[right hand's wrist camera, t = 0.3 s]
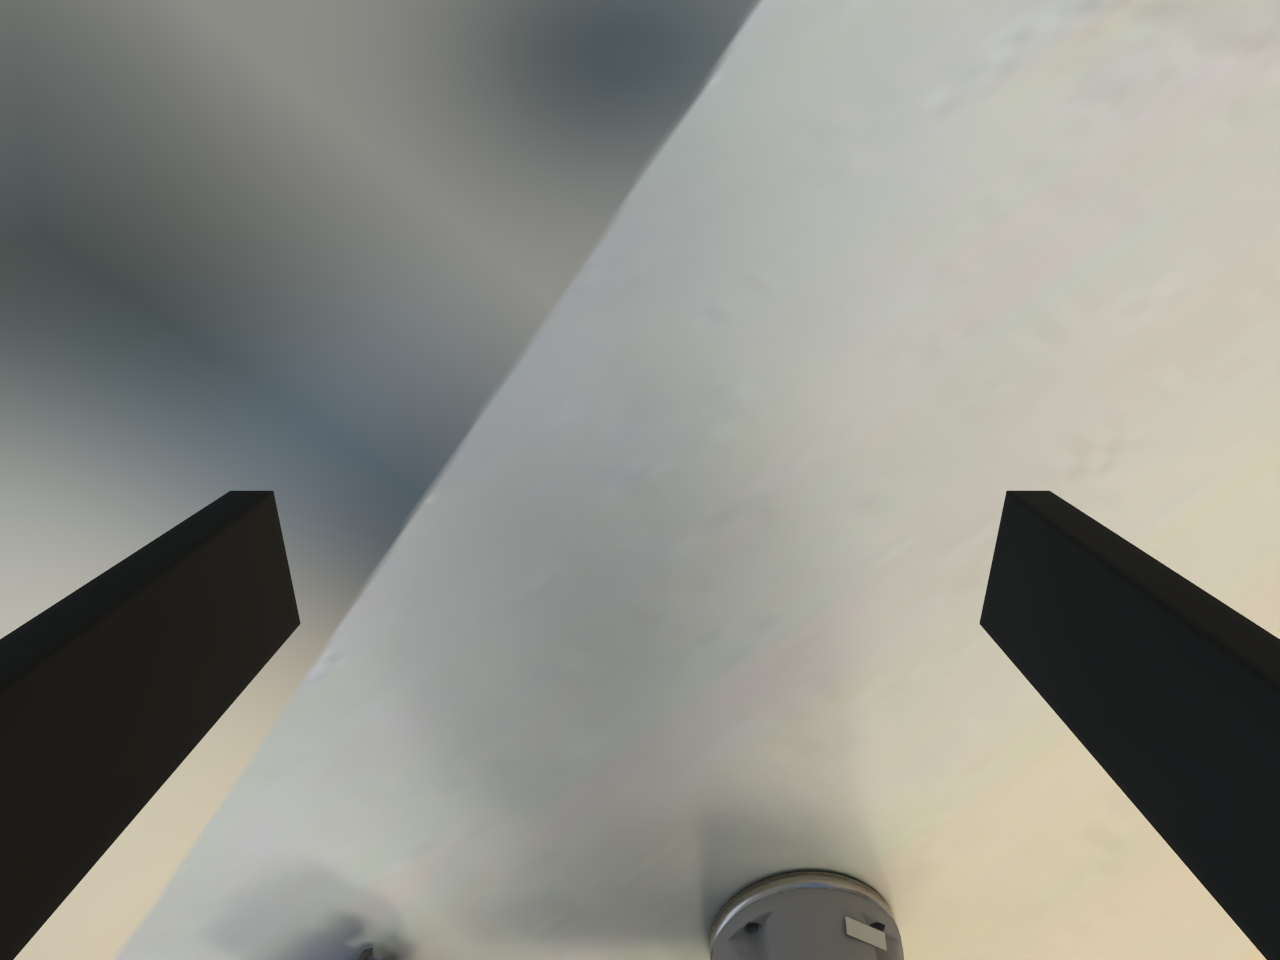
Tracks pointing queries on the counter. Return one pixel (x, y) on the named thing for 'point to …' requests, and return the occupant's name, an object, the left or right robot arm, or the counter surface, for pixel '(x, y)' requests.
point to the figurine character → (365, 954)
